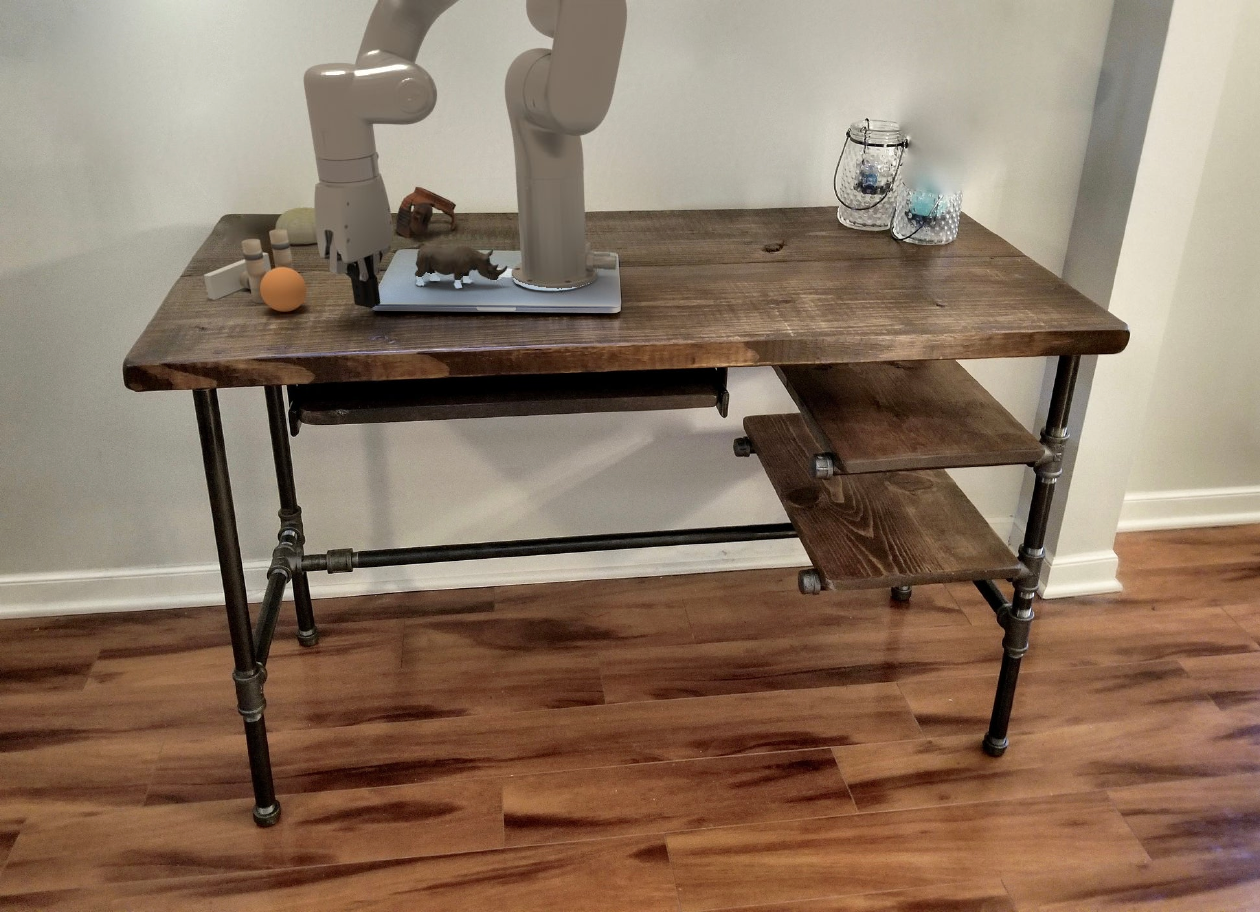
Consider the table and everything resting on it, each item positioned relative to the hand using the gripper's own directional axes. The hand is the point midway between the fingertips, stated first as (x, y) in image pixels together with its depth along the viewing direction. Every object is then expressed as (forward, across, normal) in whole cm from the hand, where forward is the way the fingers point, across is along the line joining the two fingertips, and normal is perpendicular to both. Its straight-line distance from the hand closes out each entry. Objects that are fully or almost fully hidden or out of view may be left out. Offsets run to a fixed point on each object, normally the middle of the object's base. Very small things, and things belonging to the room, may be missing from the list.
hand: (367, 304), depth 140 cm
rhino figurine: (+2, -15, +4) cm, 16 cm away
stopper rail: (+2, 0, -24) cm, 24 cm away
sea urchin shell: (+2, -22, -32) cm, 39 cm away
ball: (-2, +4, -11) cm, 12 cm away
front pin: (0, 0, -14) cm, 14 cm away
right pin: (+2, -2, -17) cm, 18 cm away
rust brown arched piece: (+2, -33, -16) cm, 37 cm away
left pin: (+2, +2, -17) cm, 18 cm away
